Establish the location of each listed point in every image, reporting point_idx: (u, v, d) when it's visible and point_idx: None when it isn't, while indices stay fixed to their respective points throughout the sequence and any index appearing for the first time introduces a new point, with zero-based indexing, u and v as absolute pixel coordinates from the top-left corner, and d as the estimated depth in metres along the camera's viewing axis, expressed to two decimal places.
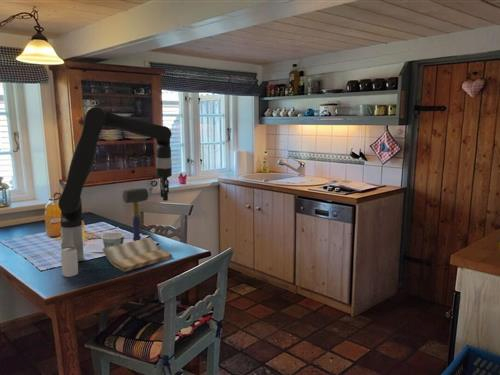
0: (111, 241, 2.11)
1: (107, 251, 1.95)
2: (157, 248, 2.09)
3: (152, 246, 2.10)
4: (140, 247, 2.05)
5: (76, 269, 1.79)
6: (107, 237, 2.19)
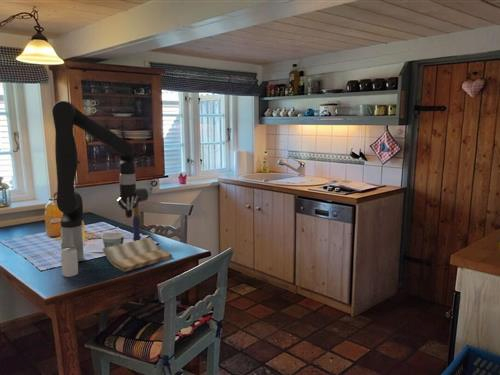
0: (111, 241, 2.11)
1: (107, 251, 1.95)
2: (157, 248, 2.09)
3: (152, 246, 2.10)
4: (140, 247, 2.05)
5: (76, 269, 1.79)
6: (107, 237, 2.19)
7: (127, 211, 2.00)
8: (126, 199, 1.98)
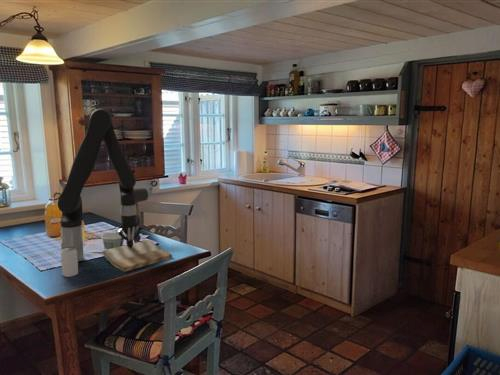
0: (111, 241, 2.11)
1: (107, 253, 1.96)
2: (157, 248, 2.09)
3: (152, 246, 2.10)
4: (140, 248, 2.06)
5: (76, 269, 1.79)
6: (107, 237, 2.19)
7: (128, 241, 2.03)
8: (127, 230, 2.01)
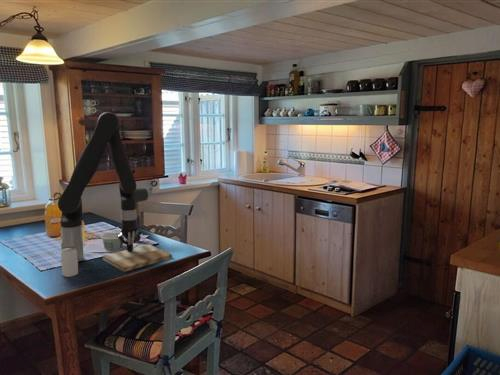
0: (111, 241, 2.11)
1: (107, 257, 1.96)
2: (157, 249, 2.09)
3: (152, 248, 2.10)
4: (140, 251, 2.06)
5: (76, 269, 1.79)
6: (107, 237, 2.19)
7: (128, 246, 2.03)
8: (127, 234, 2.01)
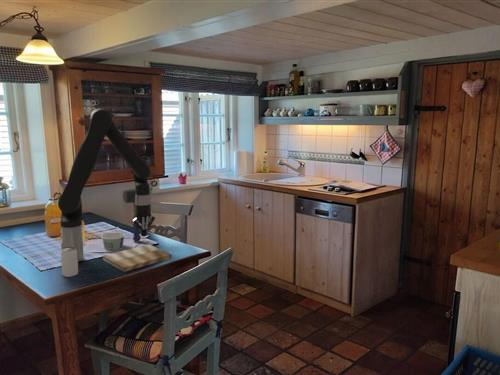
0: (111, 241, 2.11)
1: (107, 257, 1.96)
2: (157, 249, 2.09)
3: (152, 248, 2.10)
4: (140, 251, 2.06)
5: (76, 269, 1.79)
6: (107, 237, 2.19)
7: (142, 230, 2.08)
8: (141, 219, 2.05)
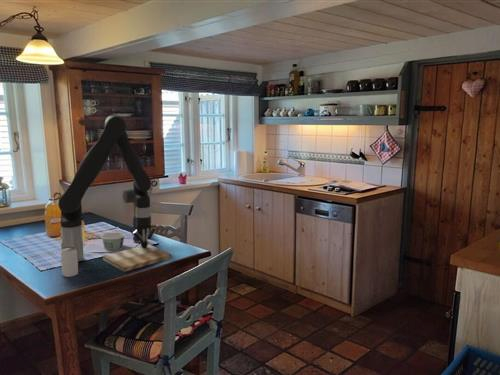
0: (111, 241, 2.11)
1: (107, 257, 1.96)
2: (157, 249, 2.09)
3: (152, 248, 2.10)
4: (140, 251, 2.06)
5: (76, 269, 1.79)
6: (107, 237, 2.19)
7: (142, 242, 2.09)
8: (142, 231, 2.07)
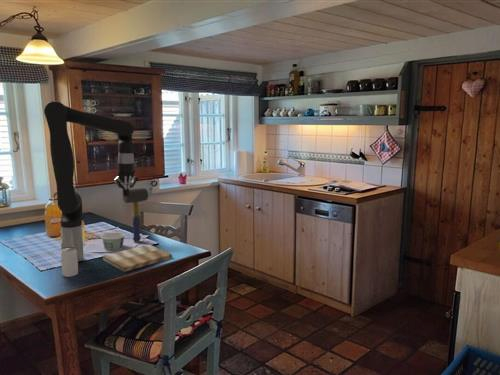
0: (111, 241, 2.11)
1: (107, 257, 1.96)
2: (157, 249, 2.09)
3: (152, 248, 2.10)
4: (140, 251, 2.06)
5: (76, 269, 1.79)
6: (107, 237, 2.19)
7: (124, 190, 2.03)
8: (124, 178, 2.01)
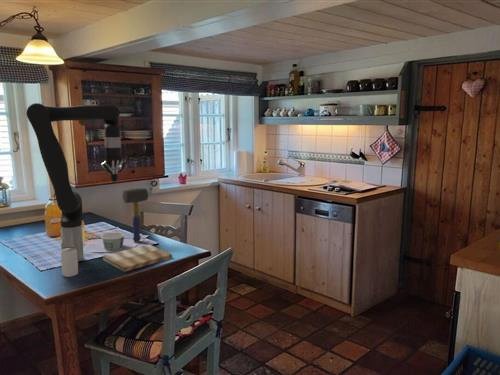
0: (111, 241, 2.11)
1: (107, 257, 1.96)
2: (157, 249, 2.09)
3: (152, 248, 2.10)
4: (140, 251, 2.06)
5: (76, 269, 1.79)
6: (107, 237, 2.19)
7: (112, 175, 2.01)
8: (111, 162, 1.98)
